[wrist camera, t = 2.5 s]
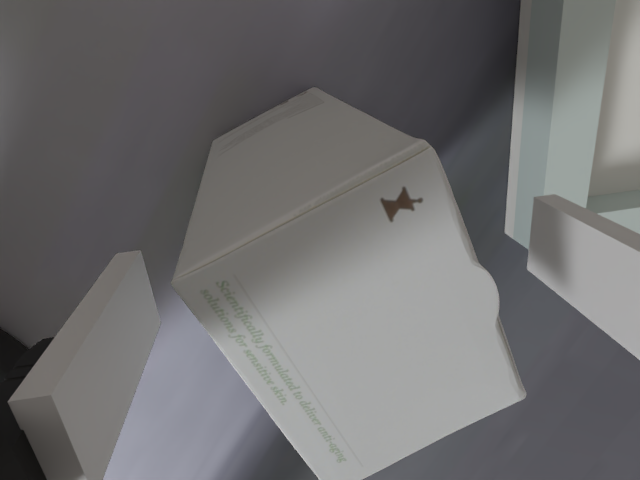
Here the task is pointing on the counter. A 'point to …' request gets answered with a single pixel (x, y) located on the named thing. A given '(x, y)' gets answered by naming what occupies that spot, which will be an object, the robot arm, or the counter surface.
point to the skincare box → (344, 286)
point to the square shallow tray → (576, 111)
